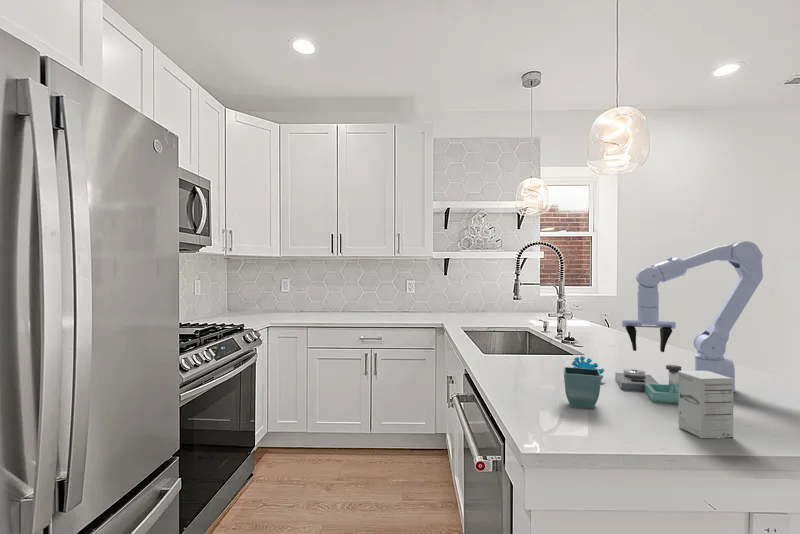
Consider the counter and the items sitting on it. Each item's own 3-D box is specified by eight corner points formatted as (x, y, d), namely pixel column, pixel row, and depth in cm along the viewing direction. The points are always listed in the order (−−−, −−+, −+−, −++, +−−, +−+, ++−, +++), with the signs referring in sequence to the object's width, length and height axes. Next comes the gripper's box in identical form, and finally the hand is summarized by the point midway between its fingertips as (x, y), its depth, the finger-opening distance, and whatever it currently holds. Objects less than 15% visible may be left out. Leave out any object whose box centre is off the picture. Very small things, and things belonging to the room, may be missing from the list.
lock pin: (678, 394, 129) (678, 365, 129) (683, 397, 125) (683, 368, 125) (664, 393, 130) (664, 364, 130) (668, 396, 126) (668, 367, 126)
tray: (700, 395, 130) (700, 386, 130) (713, 406, 119) (713, 396, 119) (644, 391, 134) (644, 382, 134) (652, 401, 124) (652, 392, 124)
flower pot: (599, 403, 123) (599, 368, 123) (601, 412, 115) (601, 376, 115) (563, 399, 126) (563, 366, 126) (563, 409, 117) (563, 373, 117)
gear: (580, 381, 140) (569, 353, 147) (570, 391, 144) (560, 364, 151) (612, 384, 142) (600, 356, 149) (601, 394, 146) (590, 367, 153)
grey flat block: (650, 381, 147) (650, 369, 147) (659, 392, 133) (659, 379, 133) (615, 378, 150) (615, 367, 150) (621, 389, 136) (621, 376, 136)
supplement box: (677, 427, 104) (676, 370, 104) (708, 426, 104) (708, 369, 104) (701, 439, 96) (701, 378, 96) (735, 438, 97) (734, 377, 97)
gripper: (624, 307, 143) (624, 351, 143) (678, 308, 138) (678, 354, 138) (620, 305, 149) (621, 348, 149) (672, 306, 145) (672, 350, 145)
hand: (648, 351), depth 144 cm, fingers open, 7 cm apart
